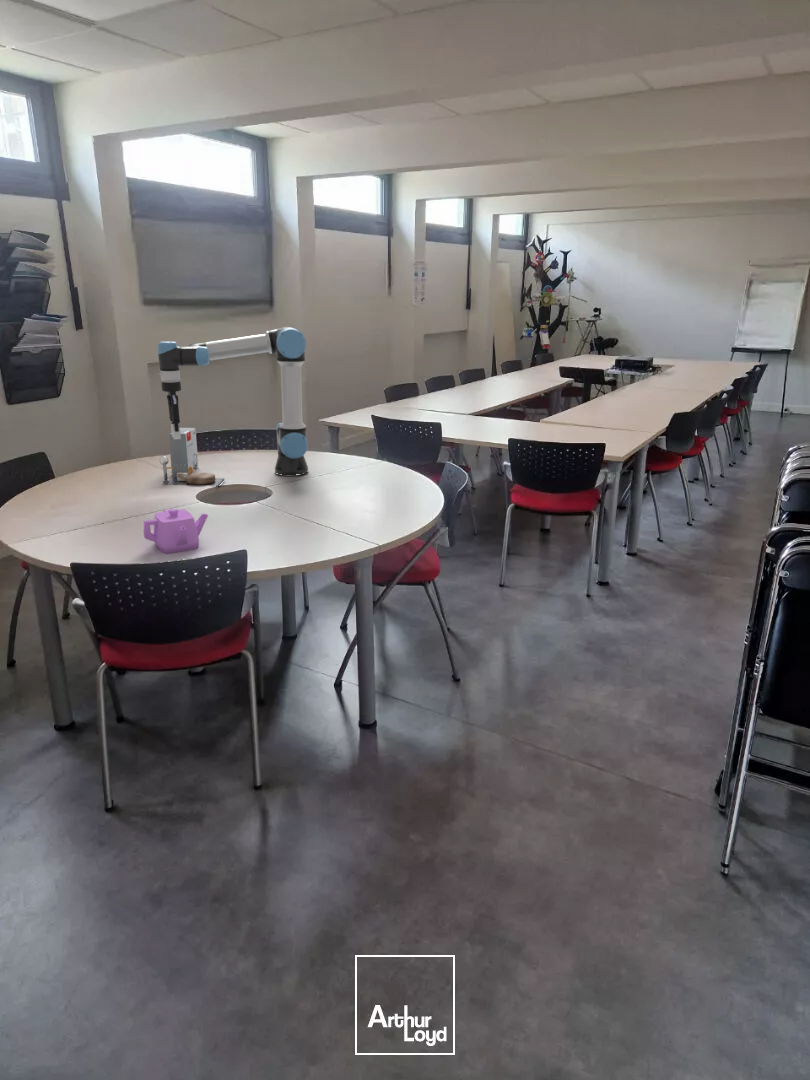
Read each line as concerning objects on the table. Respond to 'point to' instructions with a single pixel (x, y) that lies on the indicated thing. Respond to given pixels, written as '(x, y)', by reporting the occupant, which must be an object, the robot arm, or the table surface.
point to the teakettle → (174, 530)
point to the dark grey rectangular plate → (174, 482)
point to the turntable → (196, 478)
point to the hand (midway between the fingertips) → (176, 437)
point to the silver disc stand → (165, 468)
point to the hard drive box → (184, 452)
